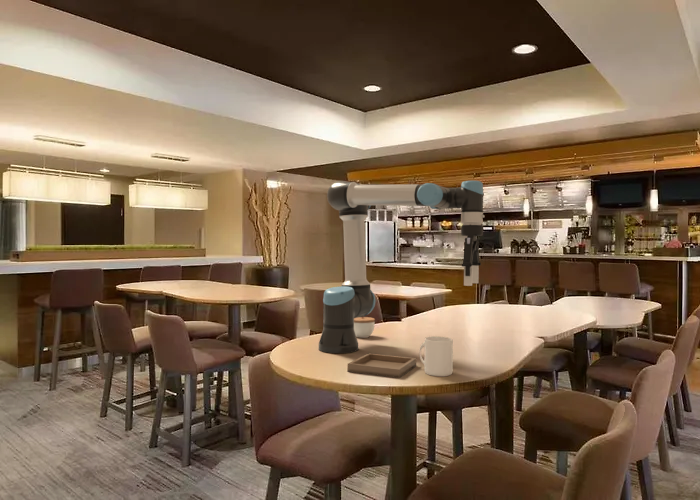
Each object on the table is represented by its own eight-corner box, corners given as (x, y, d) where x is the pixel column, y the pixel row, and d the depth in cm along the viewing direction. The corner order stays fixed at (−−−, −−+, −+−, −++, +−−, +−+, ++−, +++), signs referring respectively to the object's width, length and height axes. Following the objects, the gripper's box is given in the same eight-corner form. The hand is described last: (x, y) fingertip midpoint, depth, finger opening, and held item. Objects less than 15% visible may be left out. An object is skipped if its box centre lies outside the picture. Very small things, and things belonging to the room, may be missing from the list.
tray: (347, 371, 156) (347, 363, 156) (368, 360, 172) (368, 353, 172) (399, 377, 149) (399, 369, 149) (416, 365, 165) (416, 358, 165)
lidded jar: (347, 334, 222) (347, 313, 222) (369, 333, 226) (370, 313, 226) (354, 339, 212) (354, 317, 212) (378, 337, 215) (378, 316, 215)
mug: (428, 366, 164) (428, 333, 164) (458, 373, 155) (458, 339, 155) (410, 370, 158) (410, 336, 158) (440, 378, 149) (440, 342, 149)
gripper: (477, 222, 165) (476, 287, 165) (487, 226, 188) (487, 282, 188) (454, 223, 168) (453, 286, 168) (467, 226, 191) (467, 281, 191)
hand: (471, 284), depth 178 cm, fingers open, 13 cm apart
